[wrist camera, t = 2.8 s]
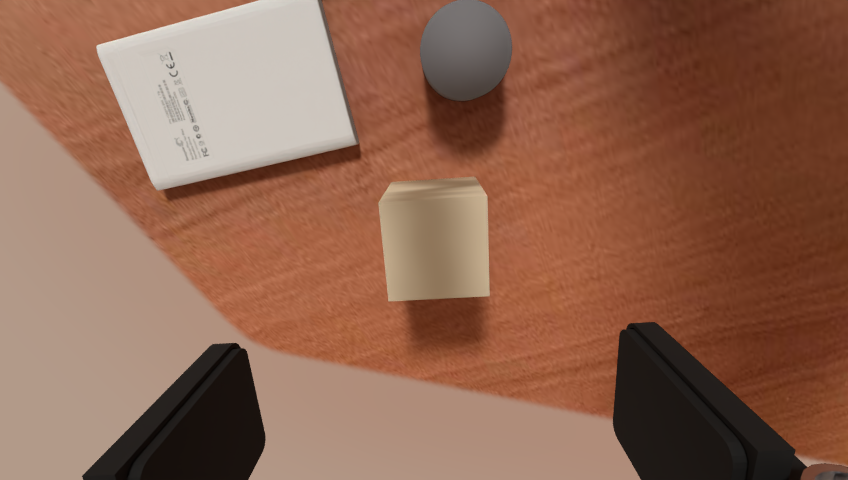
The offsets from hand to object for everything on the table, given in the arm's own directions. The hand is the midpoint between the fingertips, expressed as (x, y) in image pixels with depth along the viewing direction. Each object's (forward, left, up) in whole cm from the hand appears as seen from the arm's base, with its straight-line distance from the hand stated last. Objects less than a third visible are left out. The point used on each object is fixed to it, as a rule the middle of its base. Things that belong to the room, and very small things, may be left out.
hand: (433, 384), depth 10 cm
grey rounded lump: (-2, -9, -16) cm, 18 cm away
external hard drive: (+11, -8, -16) cm, 21 cm away
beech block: (0, 0, -16) cm, 16 cm away
